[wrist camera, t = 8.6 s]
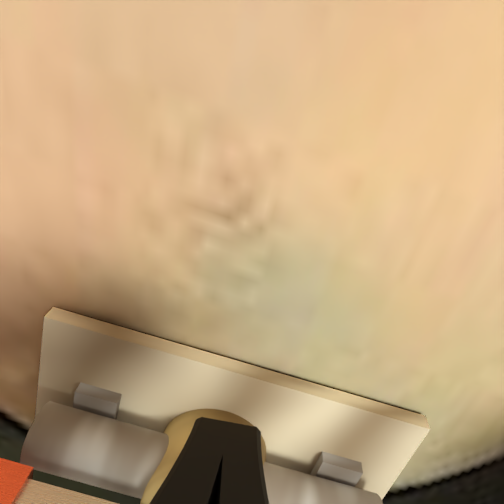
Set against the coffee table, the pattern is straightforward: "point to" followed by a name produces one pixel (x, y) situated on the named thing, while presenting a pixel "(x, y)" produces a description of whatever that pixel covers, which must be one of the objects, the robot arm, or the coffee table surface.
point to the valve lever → (35, 488)
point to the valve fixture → (202, 405)
